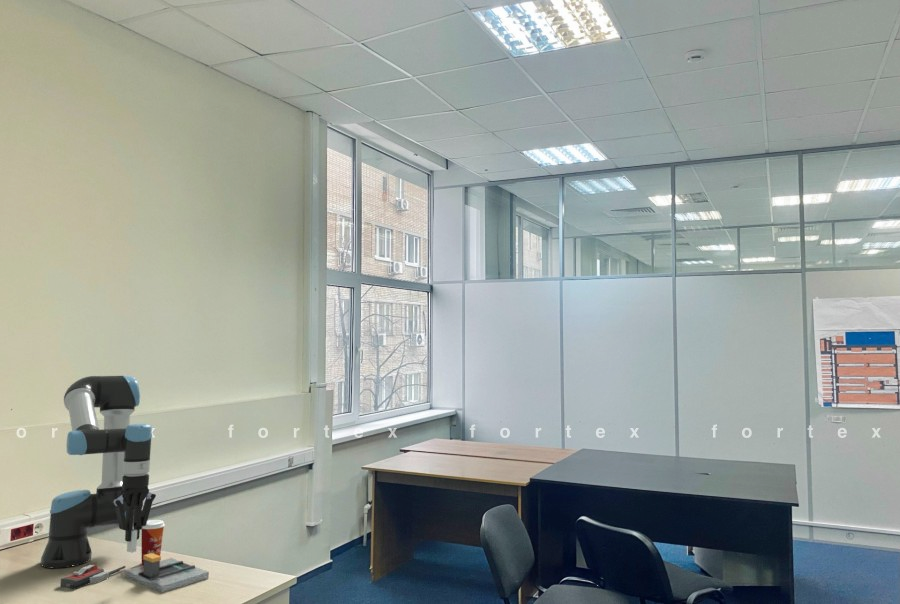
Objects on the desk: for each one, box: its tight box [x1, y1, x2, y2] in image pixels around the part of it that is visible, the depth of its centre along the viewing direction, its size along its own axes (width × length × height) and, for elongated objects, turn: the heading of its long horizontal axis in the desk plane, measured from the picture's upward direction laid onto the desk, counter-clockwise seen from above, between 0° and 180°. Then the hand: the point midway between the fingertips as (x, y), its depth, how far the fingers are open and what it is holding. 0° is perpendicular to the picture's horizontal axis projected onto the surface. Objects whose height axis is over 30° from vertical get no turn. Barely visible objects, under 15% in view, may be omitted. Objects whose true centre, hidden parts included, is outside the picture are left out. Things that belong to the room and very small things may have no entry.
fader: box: [143, 553, 162, 577], centre depth 199 cm, size 5×3×6 cm, turn 55°
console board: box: [124, 557, 210, 594], centre depth 203 cm, size 22×16×3 cm
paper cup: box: [141, 519, 166, 566], centre depth 217 cm, size 8×8×14 cm
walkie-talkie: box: [59, 564, 127, 590], centre depth 201 cm, size 9×4×20 cm
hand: (131, 551), depth 194 cm, fingers closed
